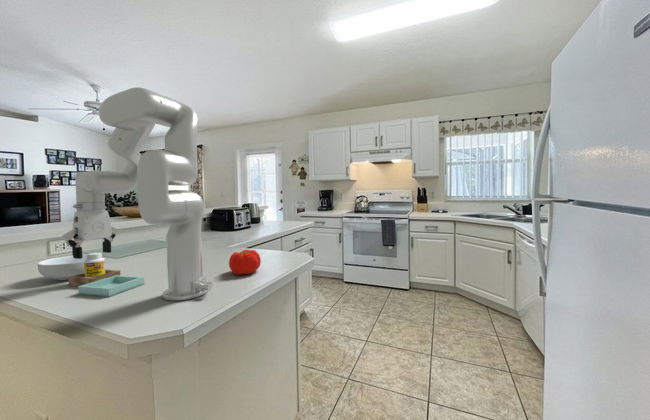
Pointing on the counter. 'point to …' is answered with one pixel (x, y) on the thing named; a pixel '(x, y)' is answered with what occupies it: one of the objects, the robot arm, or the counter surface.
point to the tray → (110, 286)
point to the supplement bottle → (94, 265)
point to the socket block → (90, 278)
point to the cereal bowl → (62, 267)
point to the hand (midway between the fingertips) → (93, 255)
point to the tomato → (244, 262)
